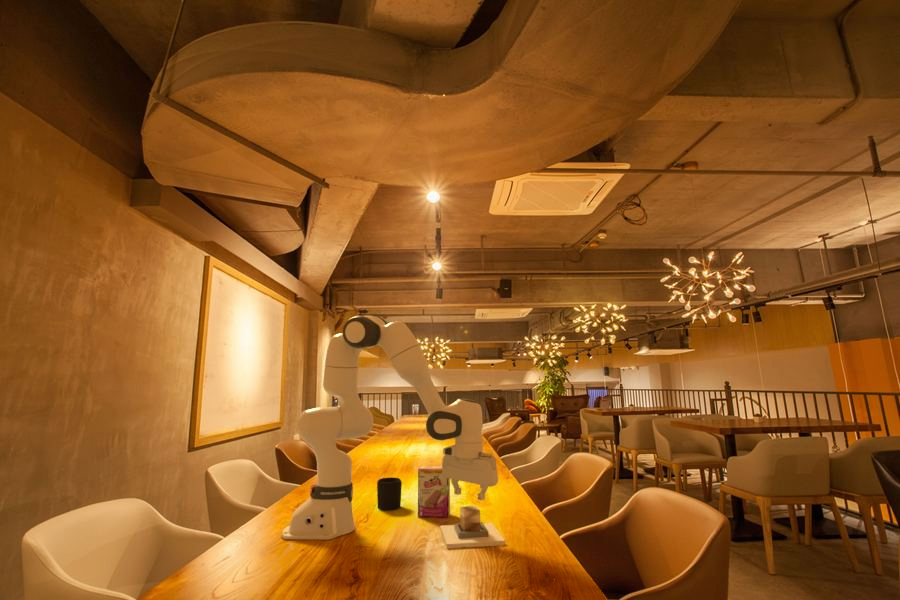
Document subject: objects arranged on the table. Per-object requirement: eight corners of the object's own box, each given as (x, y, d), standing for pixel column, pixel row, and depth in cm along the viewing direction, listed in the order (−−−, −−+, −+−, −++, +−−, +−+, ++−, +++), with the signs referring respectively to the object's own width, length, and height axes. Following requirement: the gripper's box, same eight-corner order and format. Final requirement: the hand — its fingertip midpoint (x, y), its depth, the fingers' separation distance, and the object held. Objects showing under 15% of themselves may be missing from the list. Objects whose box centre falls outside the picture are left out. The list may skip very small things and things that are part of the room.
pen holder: (406, 506, 170) (406, 478, 172) (390, 512, 162) (391, 483, 164) (387, 503, 175) (387, 476, 177) (371, 508, 167) (372, 481, 169)
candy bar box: (417, 517, 155) (417, 468, 158) (419, 513, 160) (419, 466, 163) (449, 518, 154) (448, 468, 157) (450, 514, 159) (449, 466, 162)
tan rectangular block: (464, 536, 132) (464, 511, 133) (460, 531, 137) (460, 506, 138) (480, 534, 133) (480, 509, 134) (475, 529, 138) (475, 505, 139)
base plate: (446, 548, 125) (446, 538, 126) (440, 529, 142) (440, 520, 142) (505, 545, 127) (504, 535, 128) (491, 526, 144) (491, 517, 145)
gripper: (501, 453, 136) (502, 500, 133) (451, 446, 149) (451, 489, 147) (489, 456, 131) (490, 505, 129) (439, 448, 144) (438, 493, 142)
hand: (469, 496), depth 138 cm, fingers open, 8 cm apart
